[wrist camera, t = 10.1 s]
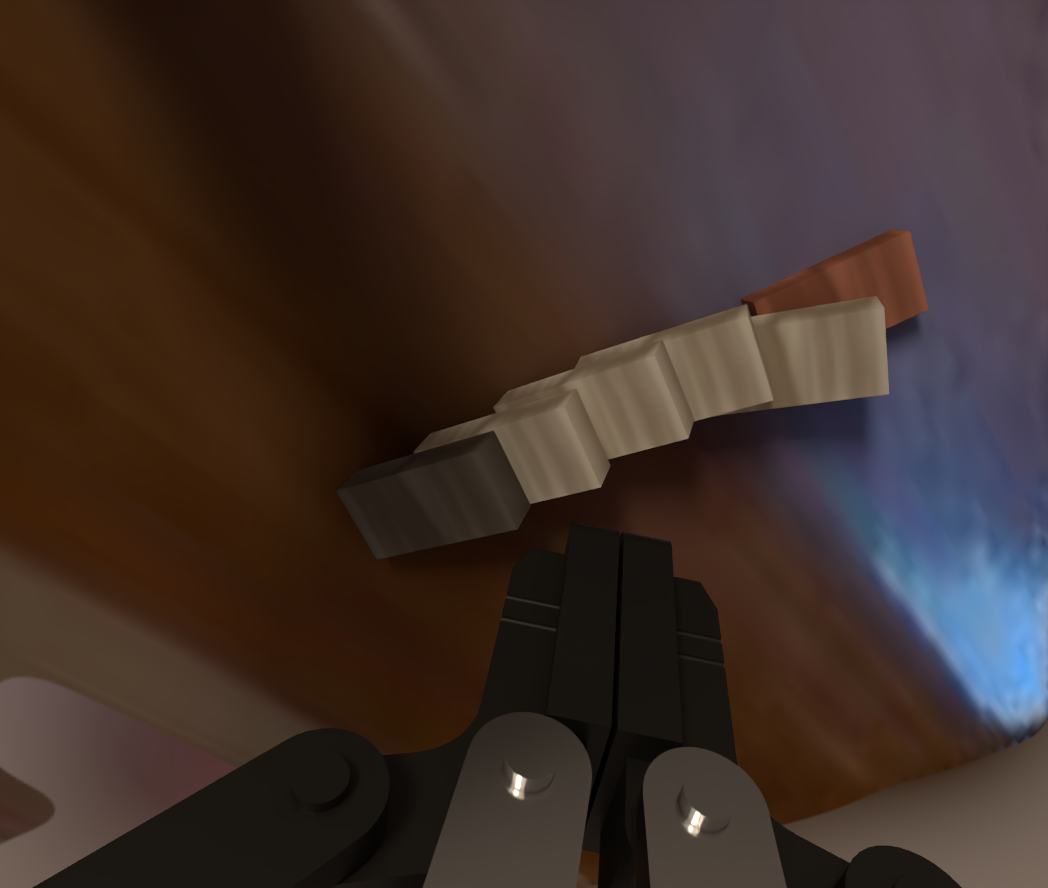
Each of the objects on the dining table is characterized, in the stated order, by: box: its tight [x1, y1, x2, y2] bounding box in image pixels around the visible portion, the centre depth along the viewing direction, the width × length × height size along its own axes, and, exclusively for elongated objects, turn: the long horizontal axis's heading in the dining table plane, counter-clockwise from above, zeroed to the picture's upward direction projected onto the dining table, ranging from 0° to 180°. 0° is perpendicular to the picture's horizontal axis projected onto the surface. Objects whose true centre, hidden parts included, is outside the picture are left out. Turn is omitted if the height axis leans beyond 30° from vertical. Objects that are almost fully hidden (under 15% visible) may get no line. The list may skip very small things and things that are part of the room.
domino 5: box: [741, 230, 929, 329], centre depth 45 cm, size 2×5×10 cm
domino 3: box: [493, 339, 694, 459], centre depth 42 cm, size 2×5×10 cm
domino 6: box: [716, 296, 889, 416], centre depth 42 cm, size 2×5×10 cm
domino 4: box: [575, 304, 773, 421], centre depth 42 cm, size 2×5×10 cm
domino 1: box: [336, 430, 531, 560], centre depth 42 cm, size 2×5×10 cm
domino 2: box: [413, 389, 610, 504], centre depth 42 cm, size 2×5×10 cm
